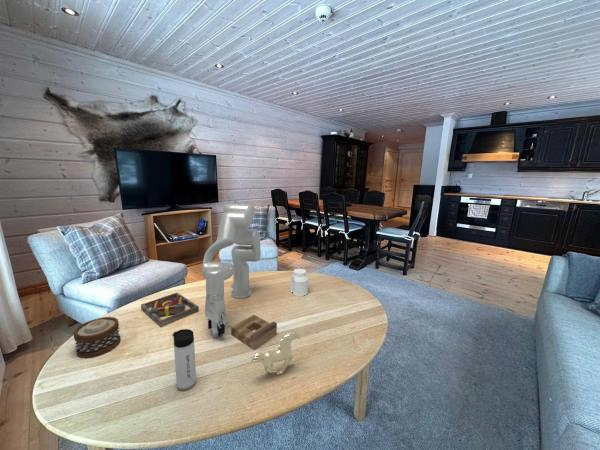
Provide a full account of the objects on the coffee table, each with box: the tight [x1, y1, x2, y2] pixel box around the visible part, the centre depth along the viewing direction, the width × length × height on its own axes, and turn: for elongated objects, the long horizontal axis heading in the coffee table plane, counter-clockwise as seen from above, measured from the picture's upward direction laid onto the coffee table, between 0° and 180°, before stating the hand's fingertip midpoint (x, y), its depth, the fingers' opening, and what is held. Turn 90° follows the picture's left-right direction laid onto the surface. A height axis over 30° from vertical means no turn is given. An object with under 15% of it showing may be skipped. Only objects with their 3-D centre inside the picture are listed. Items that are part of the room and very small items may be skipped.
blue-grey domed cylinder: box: [211, 319, 222, 340], centre depth 111 cm, size 4×4×8 cm
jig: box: [230, 314, 278, 350], centre depth 113 cm, size 16×14×6 cm
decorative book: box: [150, 296, 187, 318], centre depth 131 cm, size 11×16×5 cm
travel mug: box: [171, 328, 197, 392], centre depth 84 cm, size 6×7×20 cm
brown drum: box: [73, 316, 122, 359], centre depth 102 cm, size 15×11×15 cm
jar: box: [290, 268, 309, 297], centre depth 157 cm, size 12×10×15 cm
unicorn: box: [249, 326, 301, 376], centre depth 90 cm, size 20×4×17 cm, turn 119°
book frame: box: [140, 292, 200, 328], centre depth 132 cm, size 24×19×3 cm
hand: (216, 330), depth 111 cm, fingers open, 7 cm apart
